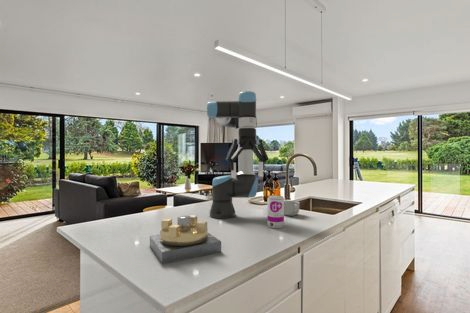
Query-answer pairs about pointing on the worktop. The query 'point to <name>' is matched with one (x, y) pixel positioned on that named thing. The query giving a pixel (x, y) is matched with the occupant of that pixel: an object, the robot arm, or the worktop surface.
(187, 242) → the ring nut
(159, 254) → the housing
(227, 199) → the robot arm
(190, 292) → the worktop surface
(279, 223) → the supplement can
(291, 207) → the teacup
